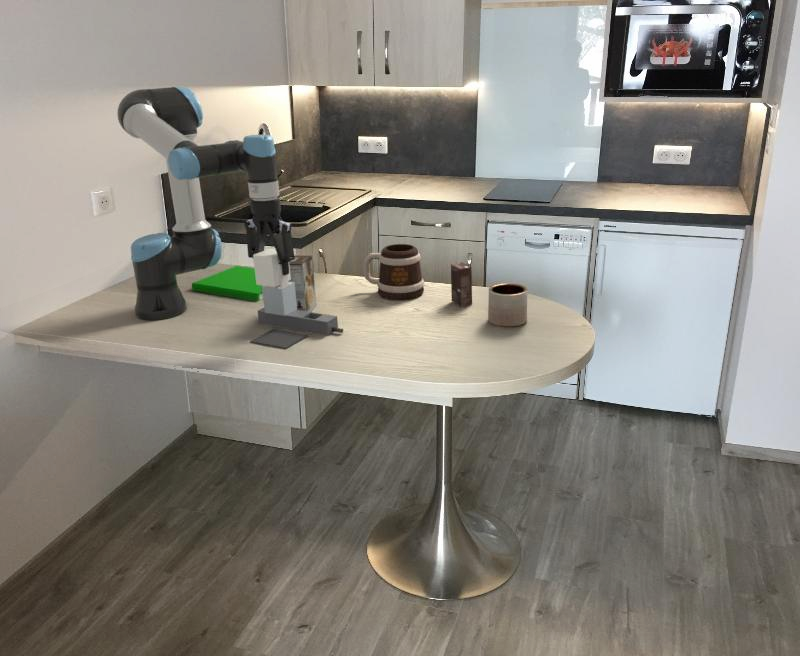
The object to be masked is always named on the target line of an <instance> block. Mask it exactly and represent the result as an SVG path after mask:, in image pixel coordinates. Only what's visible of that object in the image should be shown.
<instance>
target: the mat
mask: <svg viewBox="0 0 800 656" xmlns="http://www.w3.org/2000/svg"><path fill="white" fill-rule="evenodd" d="M307 337H309V334H305V333H300V332H294V331H289V330H284V329H282V330H281V329H278V328H277V329H276V328H272V329H269V330H268V331H266V332H264V333H263V334H261V335H259V336H257V337H255V338H253V339H251V340H250V342H249V343H252V344H257V345H262V346H266V347H267V346H268V347H273V348H279V349H283V350H287V349H289V348H291V347H292V346H294V345H296V344H298V343H299V342H300V341H302V340H304V339H306V338H307Z"/></svg>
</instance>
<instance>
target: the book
mask: <svg viewBox="0 0 800 656" xmlns="http://www.w3.org/2000/svg"><path fill="white" fill-rule="evenodd" d="M262 286H263V285H256V277H255V268H254V267H248V266H247V267H246V266H240V265H236V266H235V265H234V266H233V267H230V268H227V269H225V270H223V271H220V272H217V273H214V274H212V275H210V276H207V277H203V278H202V279H199V280H197V281H193V282H192V284H191V290H192V291H195V292H199V293H201V292H202V293H206V294H212V295H218V296H223V295H224V296H225V297H229V296H230V298H235V297H236V298H237V299H242V300H248V301H254V302H260V301H261V300H263V292H262Z"/></svg>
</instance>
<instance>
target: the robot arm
mask: <svg viewBox="0 0 800 656" xmlns="http://www.w3.org/2000/svg"><path fill="white" fill-rule="evenodd" d="M202 109H203V108H202V105H201V102H200V101H199V99H198V97H197V95H196V94H195V93H194V91H193V90H191V88H188V87H185V86H184V87H182V86H171V87H159V88H158V87H157V88H146V89H145V88H142V89H137V90H132V91H131V92H129V93H127V94H126V95H125V96H123V98H122V99H121V100H120V102H119V103H118V107H117V112H116V113H117V120H118V123H119V125H120V126H121V128H122V129H123V130H124V131H125V132H126V133H127V134H129V136H131V137H133V138H136V139H140V140H142V141H143V142H144V143H146V144H147V145H148V146H150V147H151V148H152V149H154V151H156V152H157V153H158V154H160V155H161V156H163V157H164V158H165V161H166V162H165V163H166V168H167V172H168V173H167V174H168V179H169V186H170V192H171V199H172V203H173V209H174V215H175V216H174V217H175V222H176V223H175V225H174V226H173V227H172V228H171V229H172V230H171V231H172V236H171V235H169V234H168V233H166V232H157V233H152V234H151V233H150V234H147V235H144V236H141V237H139V238H137V239H135V240H133V242H132V243H131V245H130V255H131V257H130V259H131V261H132V267H133V273H134V277H135V283H136V288H137V293H136V298H135V299H136V302H135V306H134V312H135V316H136V318H138V319H140V320H146V321H147V320H149V321H154V320H155V321H156V320H157V321H158V320H165V319H170V318H174V317H177V316H180V315H181V314H183V313H185V312H186V311H187V309H188V307H187V301H186V299H185V298H184V295H183V293H182V291H181V290H180V288H179V285H178V281H177V275H182V274H186V273H190V272H195V271H199V270H206V269H208V268H211V267H214V266H216V265H217V264H218V263H219V261H220V260H221V257H222V253H223V252H222V251H223V247H222V246H223V244H222V241H221V240H222V239H221V237H220V234H219V232H218V231H216V229H214V228H212V224H211V223H210V222H208V221H207V220H206V217H205V215H206V214H205V211H204V202H203V197H202V189H201V184H200V178H205V177H210V176H216V175H217V176H218V175H226V174H232V173H239V172H242V173H243V172H244V173H246V178H247V179H246V180H247V185H248V192H249V193H248V195H249V198H250V201H249V205H250V212H251V214H252V218H250V219H248V220H244V221H243V224H244V227H245V230H246V232H245V233H246V245H247V256H248V258H250V259H253V255H254V254H257V253H259V252H262V251H265V246H266V240H267V236H269V238H270V240H272V244H273V246H274V249H276V252H277V255H278V258H279V260H280V262H279V263H278V271H279V281H280V288H284V287H286V286H288V285H289V283H288V274H289V261H292V260H294V259H295V256H294V255H295V250H294V245H293V244H294V243H293V237H292V232H291V231H292V222H289V221H288V222H285V221H283V219H282V218H281V212H282V206H281V199H280V198H279V196H280V187H279V180H278V166H277V156H276V152H277V151H276V150H277V149H276V148H275V142H274V138H273V136H272V135H271V134H251V135H249V134H248V135H246V136H243V140H237V139H235V140H227V141H225V142H222V143H221V142H220V143H214V144H213V143H212V144H205V145H198V144H197V143H195V142H194V139H195V138H196V137H197V135H198V130H197V129H198V128H200V127H201V126H202V125H203V120H204V115H203V113H204V112H203V110H202Z"/></svg>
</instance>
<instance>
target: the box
mask: <svg viewBox="0 0 800 656" xmlns="http://www.w3.org/2000/svg"><path fill="white" fill-rule="evenodd" d="M472 270H473V269H472V266H471V265H469V264H467V263H465V262H456V263H451V264H450V287H451V289H450V291H451V302H453V303H455V304H456V305H458V306H459V308H460V307H466V306H471V305H473V283H472V282H473V279H472V278H473V276H472V275H473V274H472V272H473V271H472Z"/></svg>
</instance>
